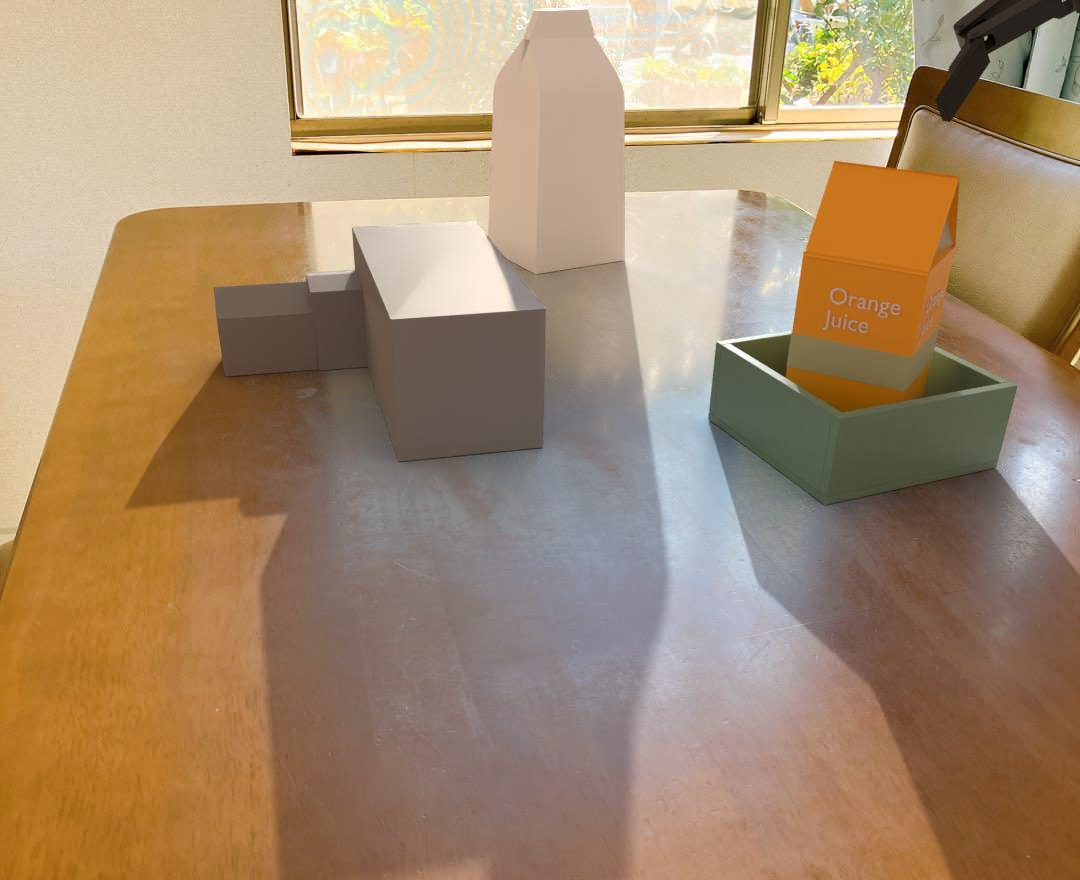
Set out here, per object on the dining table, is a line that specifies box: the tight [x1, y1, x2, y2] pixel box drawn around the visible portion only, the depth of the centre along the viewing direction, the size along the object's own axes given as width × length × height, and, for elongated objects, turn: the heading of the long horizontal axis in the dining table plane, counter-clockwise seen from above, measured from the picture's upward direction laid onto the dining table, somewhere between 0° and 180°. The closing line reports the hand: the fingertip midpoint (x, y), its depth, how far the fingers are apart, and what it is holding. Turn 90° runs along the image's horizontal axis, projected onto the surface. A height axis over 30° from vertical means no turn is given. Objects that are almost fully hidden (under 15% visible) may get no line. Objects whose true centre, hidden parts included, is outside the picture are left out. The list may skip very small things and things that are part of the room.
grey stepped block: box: [213, 219, 547, 462], centre depth 87 cm, size 25×23×11 cm
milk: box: [487, 7, 626, 275], centre depth 120 cm, size 12×12×26 cm
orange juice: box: [786, 160, 960, 413], centre depth 79 cm, size 8×9×20 cm
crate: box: [707, 330, 1018, 506], centre depth 82 cm, size 16×16×7 cm
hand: (1013, 122), depth 90 cm, fingers open, 13 cm apart
